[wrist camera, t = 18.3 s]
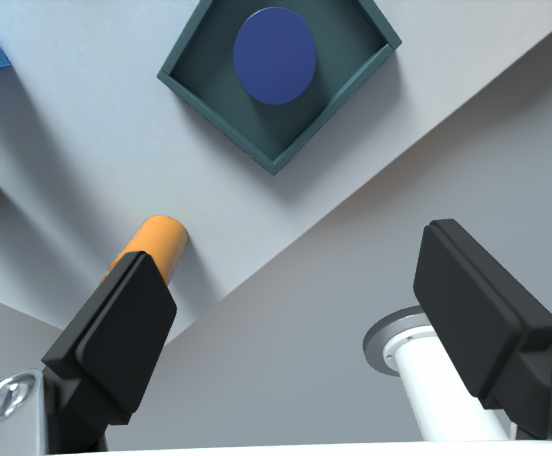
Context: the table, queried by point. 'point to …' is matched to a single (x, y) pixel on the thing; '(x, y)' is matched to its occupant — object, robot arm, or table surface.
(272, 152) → the tray
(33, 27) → the table surface
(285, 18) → the lid
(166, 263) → the jar
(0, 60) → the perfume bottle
